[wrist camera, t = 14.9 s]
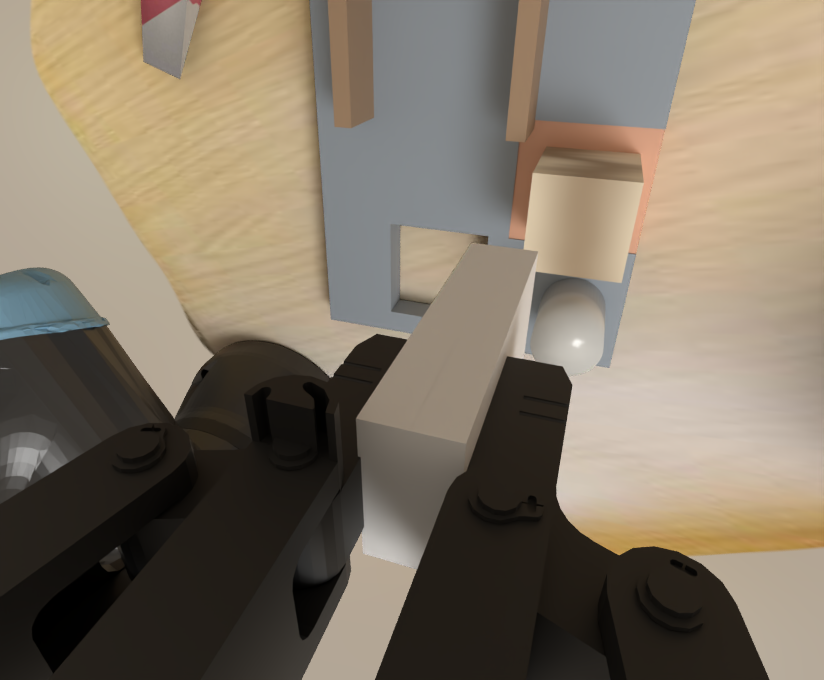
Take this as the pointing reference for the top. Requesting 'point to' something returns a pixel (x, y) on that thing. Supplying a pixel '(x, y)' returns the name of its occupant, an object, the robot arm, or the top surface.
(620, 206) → the maple cube
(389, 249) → the slate deck with cubby
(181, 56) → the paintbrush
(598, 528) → the top surface
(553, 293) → the grey stone cylinder
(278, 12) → the top surface
